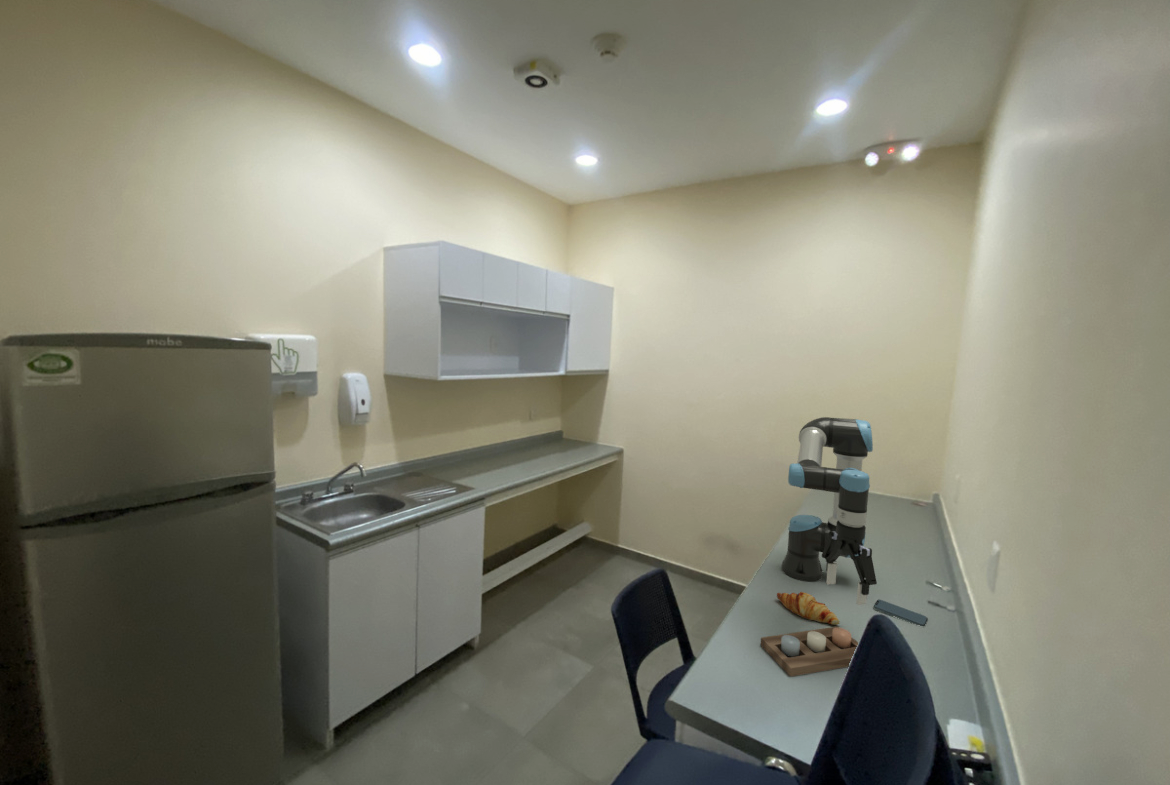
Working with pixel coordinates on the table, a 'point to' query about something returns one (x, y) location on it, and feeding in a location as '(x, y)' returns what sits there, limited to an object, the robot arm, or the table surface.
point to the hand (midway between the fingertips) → (845, 593)
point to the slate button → (790, 645)
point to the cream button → (816, 641)
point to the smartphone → (900, 612)
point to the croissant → (807, 607)
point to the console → (809, 653)
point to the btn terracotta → (841, 638)
